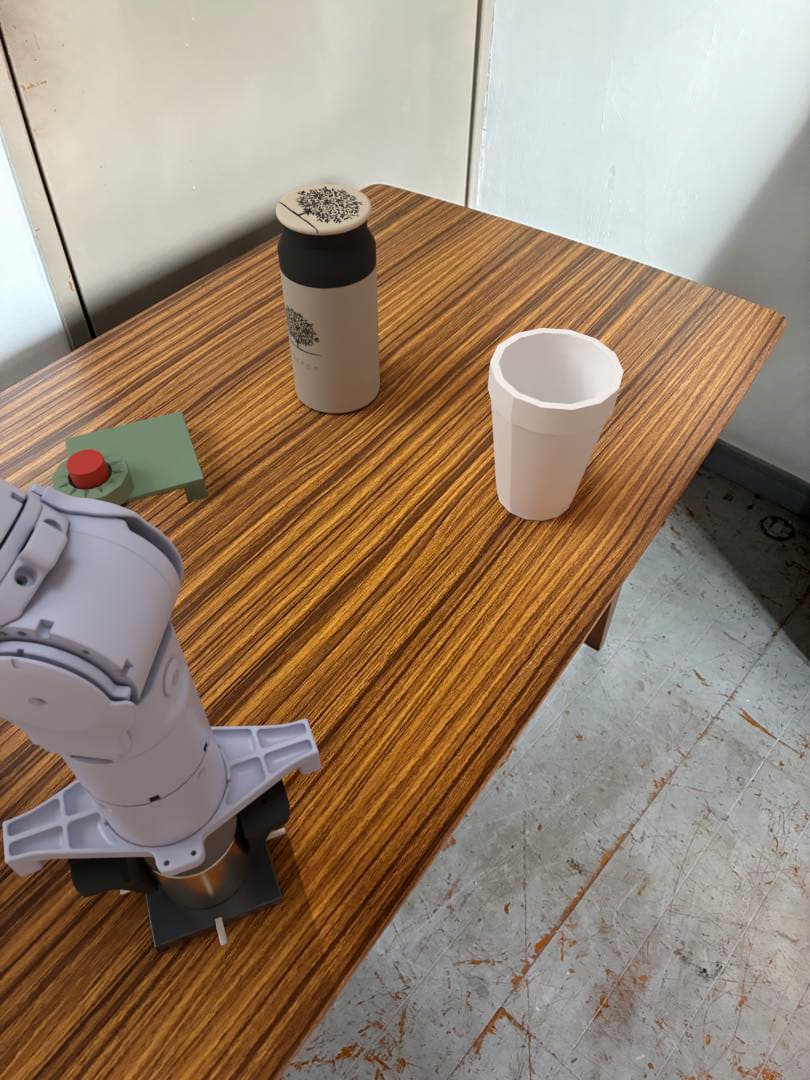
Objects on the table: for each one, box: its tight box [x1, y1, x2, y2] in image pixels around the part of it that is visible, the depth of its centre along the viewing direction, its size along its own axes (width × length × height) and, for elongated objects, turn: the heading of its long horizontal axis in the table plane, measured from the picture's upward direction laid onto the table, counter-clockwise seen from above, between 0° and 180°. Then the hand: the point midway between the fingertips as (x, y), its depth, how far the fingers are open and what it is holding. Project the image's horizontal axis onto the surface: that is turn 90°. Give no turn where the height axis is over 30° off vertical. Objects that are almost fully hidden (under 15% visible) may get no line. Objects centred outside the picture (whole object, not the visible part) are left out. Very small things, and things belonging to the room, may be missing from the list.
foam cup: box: [487, 327, 625, 522], centre depth 63 cm, size 10×9×13 cm
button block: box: [51, 410, 209, 506], centre depth 67 cm, size 11×10×4 cm
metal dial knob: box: [141, 813, 251, 909], centre depth 44 cm, size 5×5×5 cm
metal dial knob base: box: [119, 826, 287, 952], centre depth 47 cm, size 9×9×3 cm
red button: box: [66, 449, 109, 490], centre depth 64 cm, size 3×3×2 cm
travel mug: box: [275, 183, 381, 414], centre depth 70 cm, size 8×8×18 cm
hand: (201, 855), depth 45 cm, fingers closed on metal dial knob, 5 cm apart
